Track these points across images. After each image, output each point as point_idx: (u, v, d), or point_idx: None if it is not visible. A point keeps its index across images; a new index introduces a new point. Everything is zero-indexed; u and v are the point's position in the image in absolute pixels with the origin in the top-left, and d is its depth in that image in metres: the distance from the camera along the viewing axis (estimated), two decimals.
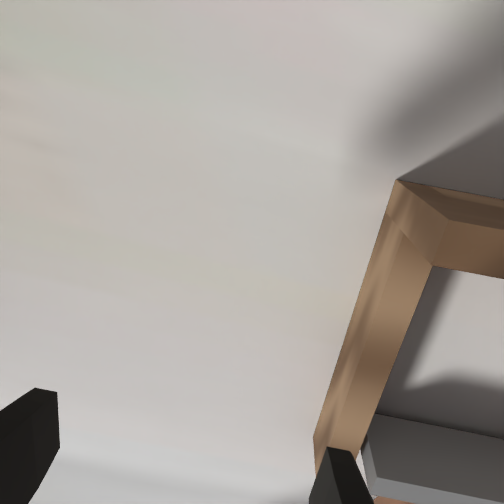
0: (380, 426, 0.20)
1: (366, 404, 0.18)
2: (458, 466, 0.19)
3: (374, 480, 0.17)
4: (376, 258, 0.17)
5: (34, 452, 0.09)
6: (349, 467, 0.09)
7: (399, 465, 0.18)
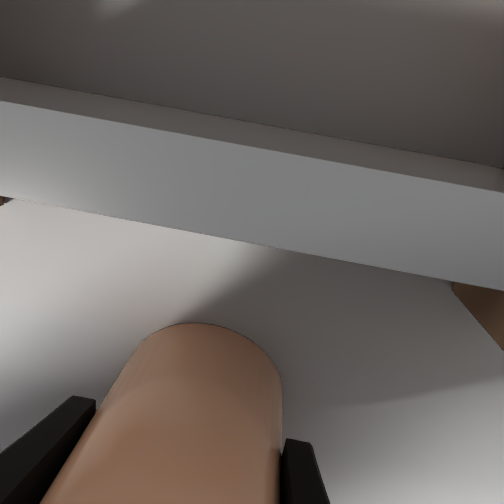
0: (6, 81, 0.07)
1: None
2: (156, 116, 0.06)
3: None
4: None
5: None
6: (306, 458, 0.09)
7: None
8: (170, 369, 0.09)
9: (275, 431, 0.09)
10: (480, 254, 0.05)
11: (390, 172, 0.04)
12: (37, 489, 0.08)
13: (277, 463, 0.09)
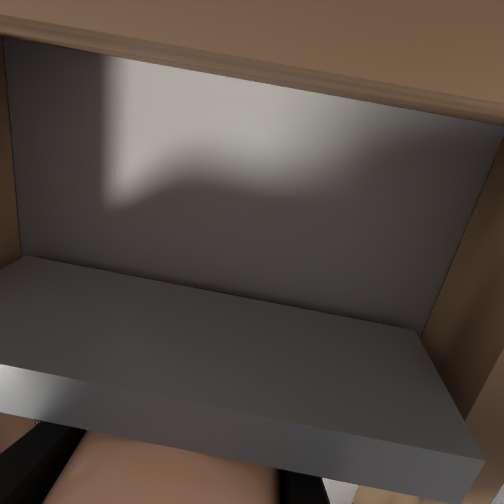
0: (36, 274, 0.10)
1: None
2: (150, 337, 0.08)
3: None
4: None
5: None
6: None
7: None
8: None
9: None
10: (368, 470, 0.07)
11: (304, 423, 0.07)
12: (37, 489, 0.08)
13: None
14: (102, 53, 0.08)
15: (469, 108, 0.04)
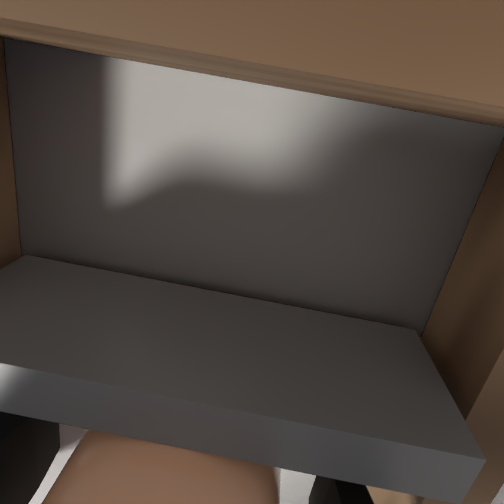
0: (36, 273, 0.10)
1: None
2: (150, 336, 0.08)
3: None
4: None
5: (34, 452, 0.09)
6: None
7: None
8: None
9: None
10: (368, 469, 0.07)
11: (305, 422, 0.07)
12: None
13: None
14: (103, 54, 0.08)
15: (469, 110, 0.05)
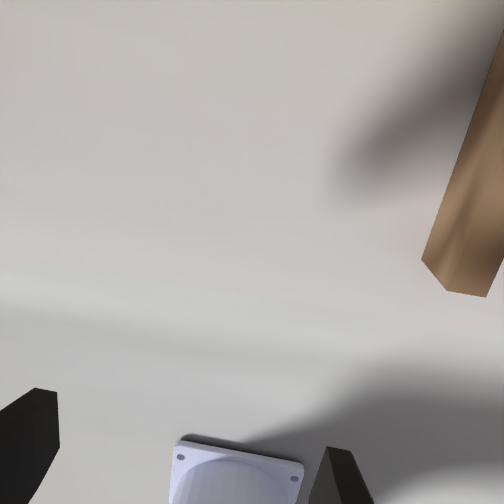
0: None
1: None
2: None
3: None
4: None
5: (34, 452, 0.09)
6: (349, 467, 0.09)
7: None
8: None
9: None
10: None
11: None
12: None
13: None
14: None
15: None
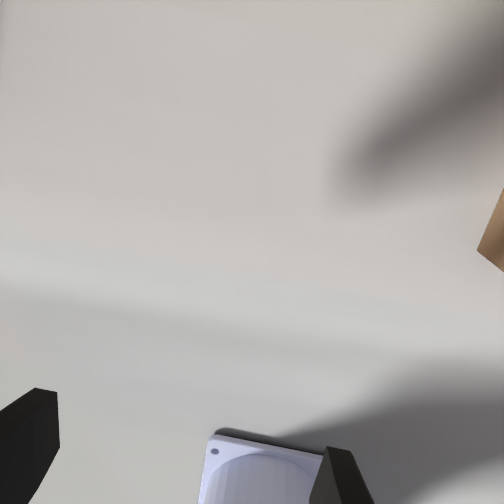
0: None
1: None
2: None
3: None
4: None
5: (34, 452, 0.09)
6: (349, 467, 0.09)
7: None
8: None
9: None
10: None
11: None
12: None
13: None
14: None
15: None
